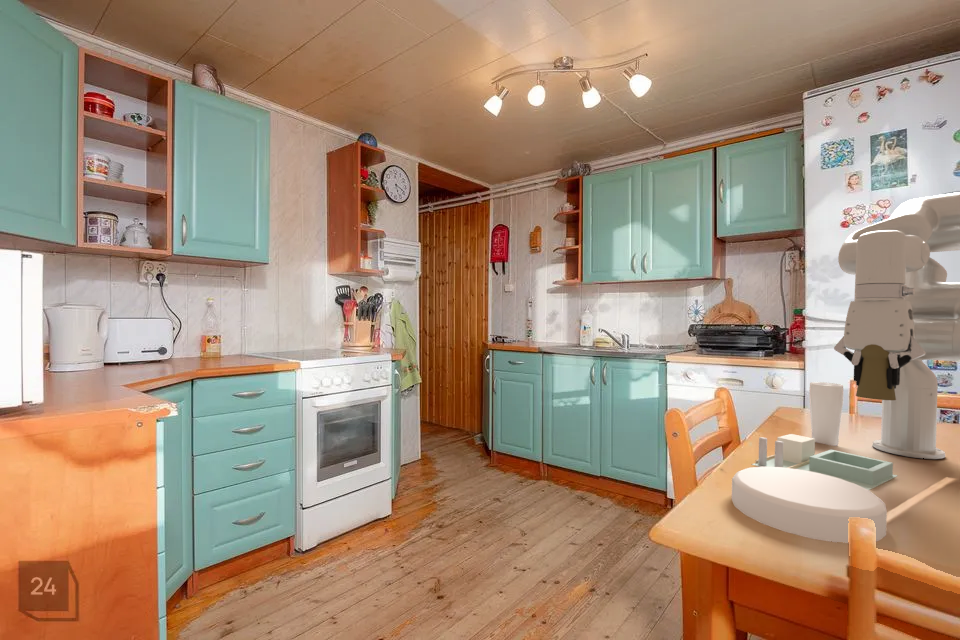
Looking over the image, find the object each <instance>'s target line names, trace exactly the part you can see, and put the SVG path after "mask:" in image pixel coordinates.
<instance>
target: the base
mask: <svg viewBox="0 0 960 640" xmlns="http://www.w3.org/2000/svg"><path fill="white" fill-rule="evenodd" d="M783 446H784V442H782V441H777V440H775V441H774V454H772V455H768V438H767V437H763V436H762V437H761V436H760V437H758V459H756V460H755V463H751V465H752V466H755V467H783V468H792V469H800V470H805V471H811V472H816V473H820V474H824V475H828V476H832V477H836V478H839V479H842V480H845V481H848V482H851V483H854V484H857V485H859V486H861V487H863V488H865V489H867V490H869V491H871V490H873V489H875V488H877V487H879V486H880V485H882V484H884V483H886V482H888V481H890V480H893V479H894V478H896V477H898V475H897V474H893V473H894V472H893V471H894V470H893V469H894V463H893V462H891V461H886V460H883V459H882V460H881V459H878V458H873V457H867V456H863V455H858V454H854V453H850V452H849V453H848V452H844V451H840V450H835V449H828V450H825V451H822V452H820V453H816V454H815V455H813V456H810V457H809V460H808V461H805V462H802V463H799V464H797V463H793V462H789V461H785V460H783Z"/></svg>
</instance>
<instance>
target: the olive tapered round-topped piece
mask: <svg viewBox="0 0 960 640" xmlns="http://www.w3.org/2000/svg"><path fill="white" fill-rule="evenodd" d="M861 355H862V357H863V363H862V372H861V378H860V383H859V385H858V386H857V389H856V394H855V396H856V397H858V398H862V399H863V398H864V399H871V400H879V401H880V400H881V401H882V400H896V396H895V389H894V386H893V387H892V389H888V388H887V378H886V374H887V369H888V368H889V365H890V361H889V357H888V355H889V352H887V351H886V350H884V349H883V348H882V347H881V346H878V345H875V344H871V345H867V346H865V347H864V349H862V350H861Z"/></svg>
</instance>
